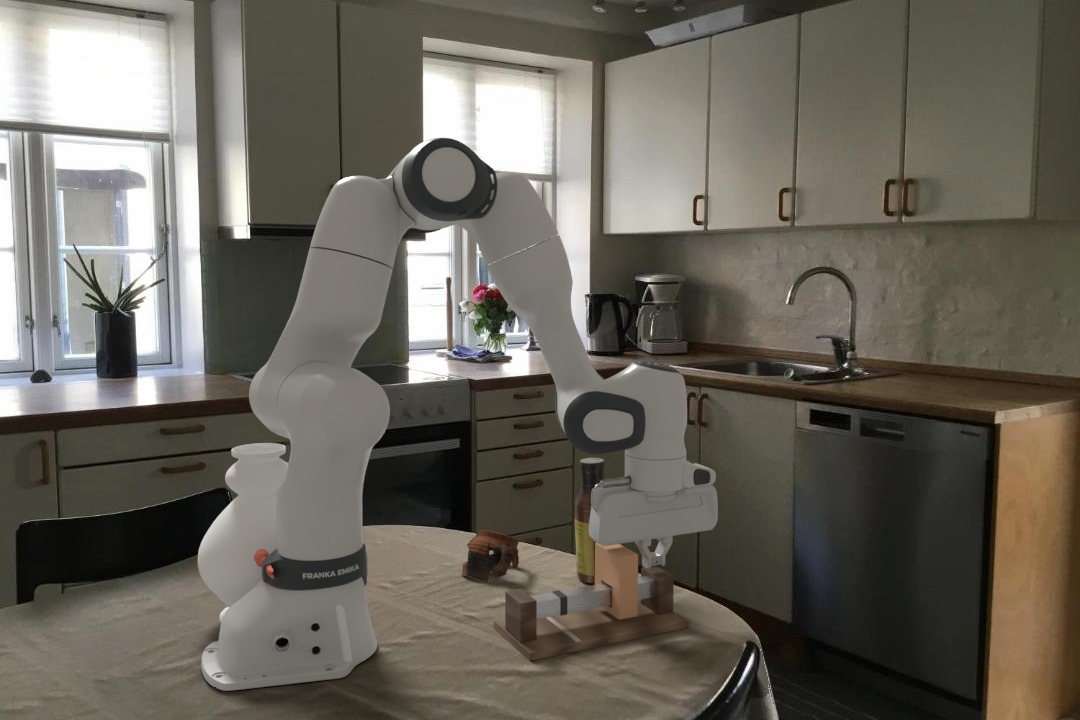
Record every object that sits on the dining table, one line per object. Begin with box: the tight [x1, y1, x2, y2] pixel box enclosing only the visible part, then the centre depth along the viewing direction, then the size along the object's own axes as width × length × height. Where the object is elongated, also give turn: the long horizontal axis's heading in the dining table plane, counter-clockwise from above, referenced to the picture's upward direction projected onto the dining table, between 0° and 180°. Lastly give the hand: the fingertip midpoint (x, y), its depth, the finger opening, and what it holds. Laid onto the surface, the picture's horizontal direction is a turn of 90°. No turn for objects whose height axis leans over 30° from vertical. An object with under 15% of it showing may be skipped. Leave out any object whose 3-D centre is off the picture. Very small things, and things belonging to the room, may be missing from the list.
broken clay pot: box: [461, 529, 520, 583], centre depth 154 cm, size 12×10×8 cm
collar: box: [594, 543, 639, 620], centre depth 133 cm, size 3×7×9 cm, turn 26°
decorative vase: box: [197, 442, 289, 624], centre depth 135 cm, size 18×18×25 cm
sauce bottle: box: [574, 457, 606, 585], centre depth 151 cm, size 7×6×20 cm
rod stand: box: [493, 566, 690, 662], centre depth 132 cm, size 25×12×6 cm, turn 116°
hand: (653, 566), depth 136 cm, fingers closed
